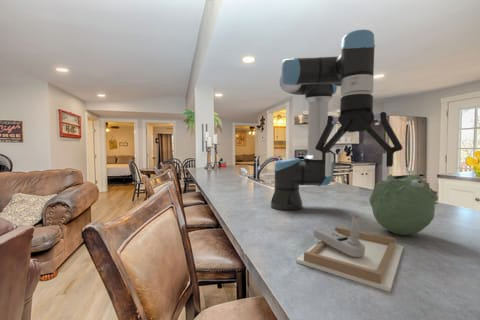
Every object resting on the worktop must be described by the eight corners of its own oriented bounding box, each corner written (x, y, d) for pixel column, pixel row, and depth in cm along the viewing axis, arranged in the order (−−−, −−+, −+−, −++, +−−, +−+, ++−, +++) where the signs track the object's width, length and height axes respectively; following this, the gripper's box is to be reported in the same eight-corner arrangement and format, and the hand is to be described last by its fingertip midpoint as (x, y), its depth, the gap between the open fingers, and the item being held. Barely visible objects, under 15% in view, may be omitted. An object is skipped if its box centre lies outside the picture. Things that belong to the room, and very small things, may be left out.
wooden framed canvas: (330, 233, 80) (330, 225, 80) (403, 249, 67) (403, 239, 67) (296, 262, 60) (296, 251, 60) (390, 292, 47) (390, 278, 47)
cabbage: (376, 222, 92) (377, 170, 91) (439, 235, 78) (442, 174, 77) (361, 232, 81) (362, 173, 80) (432, 249, 67) (435, 178, 66)
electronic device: (325, 202, 73) (373, 219, 60) (321, 233, 74) (368, 256, 61) (312, 204, 70) (360, 221, 57) (309, 236, 71) (355, 260, 58)
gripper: (304, 99, 66) (303, 175, 68) (415, 84, 51) (412, 184, 52) (314, 103, 72) (313, 173, 73) (417, 91, 57) (414, 180, 58)
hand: (354, 178), depth 63 cm, fingers open, 13 cm apart
